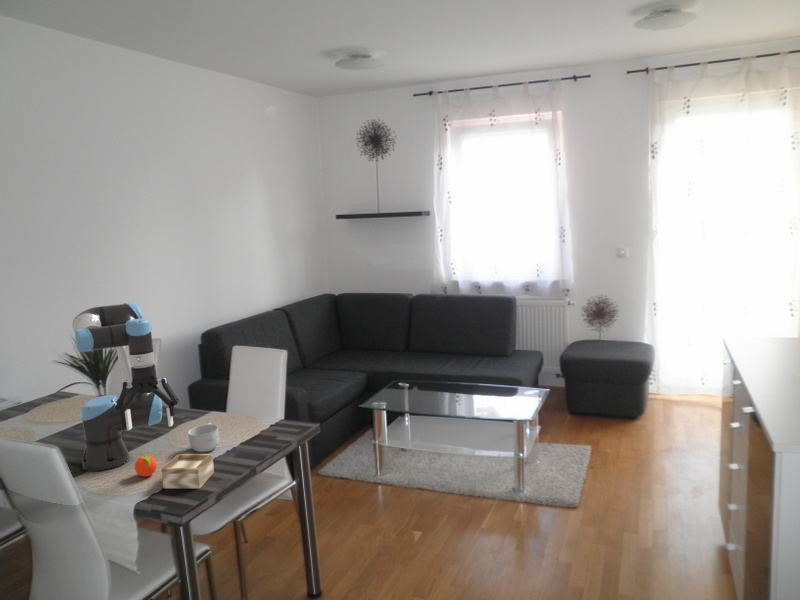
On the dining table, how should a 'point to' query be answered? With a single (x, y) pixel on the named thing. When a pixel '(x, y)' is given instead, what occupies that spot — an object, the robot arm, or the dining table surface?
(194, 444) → the teacup
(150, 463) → the tomato
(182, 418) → the dining table surface
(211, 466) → the wooden box
